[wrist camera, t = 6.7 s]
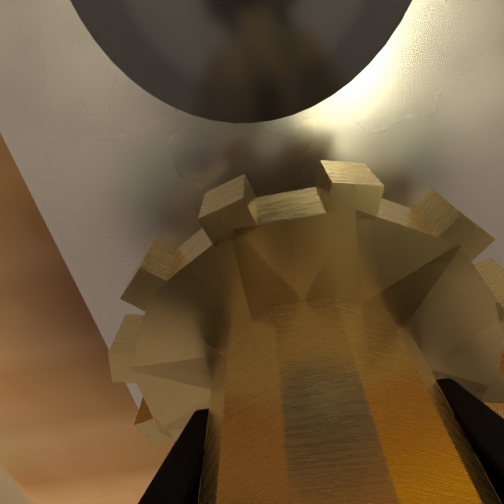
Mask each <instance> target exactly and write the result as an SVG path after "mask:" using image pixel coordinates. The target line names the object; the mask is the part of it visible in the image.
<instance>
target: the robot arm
mask: <svg viewBox="0 0 504 504" xmlns="http://www.w3.org/2000/svg"><path fill="white" fill-rule="evenodd" d="M436 381H437V383H438V385H439V387H440V388H441V390H442V392H443V394H444V396H445V398H446V400H447V402H448V404H449V405H450V407H451V409H452V411H453V413H454V415H455V417H456V419H457V421H458V423H459V425H460V426H461V428H462V430H463V432H464V434H465V436H466V437H467V439H468V441H469V443H470V445H471V447H472V449H473V451H474V452H475V454H476V456H477V458H478V460H479V462H480V464H481V466H482V468H483V469H484V471H485V473H486V475H487V477H488V479H489V481H490V483H491V484H492V486H493V488H494V490H495V492H496V494H497V496H498V498H499V500H500V501H501V503H502V504H504V419H503V418H502V417H501V416H499V415H498V414H497V413H495V412H494V411H493V410H492V409H490V408H489V407H488V406H487V405H485V404H484V403H483V402H482V401H480V400H479V399H478V398H476V397H475V396H474V395H473V394H471V393H470V392H469V391H468V390H466V389H465V388H464V387H463V386H461V385H460V384H459V383H457V382H456V381H455V380H454V379H451V378H442V379H436ZM208 414H209V408H207V409H199V410H196V411H195V412H194V413H193V415H192V416H191V418H190V419H189V421H188V423H187V424H186V426H185V428H184V429H183V431H182V433H181V434H180V436H179V437H178V439H177V441H176V442H175V444H174V446H173V447H172V449H171V450H170V452H169V454H168V455H167V457H166V459H165V460H164V462H163V464H162V465H161V467H160V468H159V470H158V472H157V473H156V475H155V477H154V478H153V480H152V481H151V483H150V485H149V486H148V488H147V490H146V491H145V493H144V495H143V496H142V498H141V499H140V501H139V503H138V504H198V498H199V490H200V481H201V473H202V464H203V456H204V448H205V439H206V431H207V422H208Z"/></svg>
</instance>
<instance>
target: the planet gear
mask: <svg viewBox="0 0 504 504" xmlns="http://www.w3.org/2000/svg"><path fill="white" fill-rule="evenodd" d="M384 187H385V186H384V185H383V184H382V183H381V181H380V180H379V179H378V178H377V177H376V176H375V175H374V173H373V172H372V171H371V170H370V169H369V168H368V167H367V165H366V164H365V163H354V162H341V161H327V160H320V163H319V169H318V175H317V181H316V187H312V188H306V189H301V190H295V191H289V192H284V193H278V194H273V195H267V196H261V197H256V196H255V194H254V192H253V190H252V188H251V186H250V184H249V182H248V180H247V178H246V176H245V174H243V175H241V176H239V177H237V178H235V179H232V180H230V181H228V182H226V183H224V184H222V185H220V186H218V187H215V188H213V189H211V190H209V191H207V192H206V193H205V196H204V199H203V202H202V206H201V209H200V212H199V216H198V221H199V222H200V224H201V226H202V227H203V228H201V229H200V230H199V231H198V232H197V233H195V234H194V235H193V236H192V237H190V238H189V239H188V240H187V241H186V242H184V243H183V244H182V245H181V246H180V247H176V246H174V245H172V244H171V243H169V242H167V241H165V240H164V239H162V238H160V237H158V236H157V235H155V237H154V238H153V240H152V242H151V243H150V245H149V246H148V248H147V250H146V251H145V253H144V254H143V256H142V258H141V259H140V261H139V262H138V264H137V266H136V268H135V270H134V272H133V274H132V276H131V278H130V280H129V282H128V284H127V286H126V288H125V290H124V292H123V294H122V296H121V298H120V299H121V300H123V301H125V302H127V303H129V304H131V305H133V306H135V307H137V308H139V309H141V310H143V311H145V315H136V314H125V316H124V319H123V321H122V323H121V325H120V327H119V330H118V332H117V334H116V336H115V338H114V340H113V343H112V345H111V347H110V349H109V351H108V358H109V365H110V371H111V378H112V382H120V383H137V385H138V387H139V389H140V391H141V393H142V395H143V398H142V401H141V405H140V408H139V411H138V414H137V418H136V421H135V424H134V425H135V426H136V427H137V428H138V429H139V430H140V431H141V433H142V434H143V435H144V436H145V437H146V438H147V439H148V440H149V441H150V442H151V443H152V444H153V445H158V444H161V443H164V442H167V441H170V440H174V441H177V439H178V437H179V436H180V434H181V433H182V431H183V429H184V428H185V426H186V424H187V423H188V421H189V419H190V418H191V416H192V415H193V413H194V412H195V411H196V410H199V409H207V408H209V414H208V422H207V431H206V439H205V448H204V456H203V464H202V473H201V481H200V490H199V498H198V504H502V503H501V501H500V500H499V498H498V496H497V494H496V492H495V490H494V488H493V486H492V484H491V483H490V481H489V479H488V477H487V475H486V473H485V471H484V469H483V468H482V466H481V464H480V462H479V460H478V458H477V456H476V454H475V452H474V451H473V449H472V447H471V445H470V443H469V441H468V439H467V437H466V436H465V434H464V432H463V430H462V428H461V426H460V425H459V423H458V421H457V419H456V417H455V415H454V413H453V411H452V409H451V407H450V405H449V404H448V402H447V400H446V398H445V396H444V394H443V392H442V390H441V388H440V387H439V385H438V383H437V381H436V379H442V378H451V379H454V380H455V381H456V382H457V383H459V384H460V385H461V386H463V387H464V388H465V389H466V390H468V391H469V392H470V393H471V394H473V395H474V396H475V397H476V398H478V399H479V400H480V401H482V402H491V403H504V352H503V345H504V269H503V268H502V267H501V266H500V265H499V264H498V263H497V262H496V261H495V260H494V259H493V258H489V259H486V260H483V261H481V262H478V263H475V264H473V263H472V262H471V261H472V260H474V259H475V258H476V257H477V256H478V255H479V254H480V253H481V252H482V251H484V250H485V249H486V248H487V247H488V246H489V245H490V244H491V243H493V242H494V241H495V240H496V239H495V238H493V237H492V236H491V235H490V234H489V233H487V232H486V231H485V230H484V229H483V228H482V227H480V226H479V225H478V224H477V223H476V222H474V221H473V220H472V219H471V218H470V217H468V216H467V215H466V214H465V213H464V212H462V211H461V210H460V209H459V208H457V207H456V206H455V205H454V204H452V203H451V202H450V201H448V200H447V199H446V198H444V197H443V196H442V195H441V194H439V193H438V192H437V191H435V190H434V189H433V188H430V189H429V190H428V191H427V192H426V194H425V195H424V196H423V197H422V198H421V199H420V200H419V201H418V202H417V203H416V204H415V205H414V206H413V207H412V208H409V207H406V206H403V205H400V204H397V203H395V202H392V201H389V200H386V199H383V198H382V195H383V191H384Z"/></svg>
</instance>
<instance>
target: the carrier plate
mask: <svg viewBox="0 0 504 504" xmlns="http://www.w3.org/2000/svg"><path fill="white" fill-rule="evenodd" d="M0 133H1V135H2V137H3V139H4V141H5V143H6V145H7V147H8V149H9V151H10V153H11V155H12V157H13V159H14V161H15V163H16V165H17V167H18V169H19V171H20V173H21V175H22V177H23V179H24V181H25V183H26V185H27V187H28V189H29V191H30V193H31V195H32V197H33V199H34V201H35V203H36V205H37V207H38V209H39V211H40V213H41V215H42V217H43V219H44V221H45V223H46V225H47V227H48V229H49V231H50V233H51V235H52V237H53V239H54V241H55V243H56V245H57V247H58V249H59V251H60V253H61V255H62V257H63V259H64V261H65V263H66V265H67V267H68V269H69V271H70V273H71V275H72V277H73V279H74V281H75V283H76V285H77V287H78V289H79V291H80V293H81V295H82V297H83V299H84V301H85V303H86V305H87V307H88V309H89V311H90V313H91V315H92V317H93V319H94V321H95V323H96V325H97V327H98V329H99V331H100V333H101V335H102V337H103V339H104V341H105V343H106V345H107V347H108V349H110V347H111V345H112V343H113V340H114V338H115V336H116V334H117V332H118V330H119V327H120V325H121V323H122V321H123V319H124V316H125V314H136V315H145V311H143V310H141V309H139V308H137V307H135V306H133V305H131V304H129V303H127V302H125V301H123V300H121V299H120V298H121V296H122V294H123V292H124V290H125V288H126V286H127V284H128V282H129V280H130V278H131V276H132V274H133V272H134V270H135V268H136V266H137V264H138V262H139V261H140V259H141V258H142V256H143V254H144V253H145V251H146V250H147V248H148V246H149V245H150V243H151V242H152V240H153V238H154V237H155V235H157V236H158V237H160V238H162V239H164V240H165V241H167V242H169V243H171V244H172V245H174V246H176V247H180V246H181V245H182V244H183V243H184V242H186V241H187V240H188V239H189V238H190V237H192V236H193V235H194V234H195V233H197V232H198V231H199V230H200V229H201V228H203V227H202V226H201V224H200V222H199V221H198V216H199V212H200V209H201V206H202V202H203V199H204V196H205V193H206V192H207V191H209V190H211V189H213V188H215V187H218V186H220V185H222V184H224V183H226V182H228V181H230V180H232V179H235V178H237V177H239V176H241V175H243V174H245V176H246V178H247V180H248V182H249V184H250V186H251V188H252V190H253V192H254V194H255V196H256V197H261V196H267V195H273V194H278V193H284V192H289V191H295V190H301V189H306V188H312V187H316V181H317V175H318V169H319V163H320V160H327V161H341V162H354V163H365V164H366V165H367V167H368V168H369V169H370V170H371V171H372V172H373V173H374V175H375V176H376V177H377V178H378V179H379V180H380V181H381V183H382V184H383V185H384V186H385V187H384V191H383V195H382V198H383V199H386V200H389V201H392V202H395V203H397V204H400V205H403V206H406V207H409V208H412V207H413V206H414V205H415V204H416V203H417V202H418V201H419V200H420V199H421V198H422V197H423V196H424V195H425V194H426V192H427V191H428V190H429V189H430V188H433V189H434V190H435V191H437V192H438V193H439V194H441V195H442V196H443V197H444V198H446V199H447V200H448V201H450V202H451V203H452V204H454V205H455V206H456V207H457V208H459V209H460V210H461V211H462V212H464V213H465V214H466V215H467V216H468V217H470V218H471V219H472V220H473V221H474V222H476V223H477V224H478V225H479V226H480V227H482V228H483V229H484V230H485V231H486V232H487V233H489V234H490V235H491V236H492V237H493V238H495V239H496V240H495V241H494V242H493V243H491V244H490V245H489V246H488V247H487V248H486V249H485V250H484V251H482V252H481V253H480V254H479V255H478V256H477V257H476V258H475V259H474V260H472V261H471V262H472V263H473V264H475V263H478V262H481V261H483V260H486V259H489V258H493V259H494V260H495V261H496V262H497V263H498V264H499V265H500V266H501V267H502V268H503V269H504V0H0ZM503 352H504V345H503ZM126 385H127V387H128V389H129V391H130V393H131V395H132V397H133V399H134V401H135V403H136V405H137V407H138V409H139V408H140V405H141V401H142V398H143V395H142V393H141V391H140V389H139V387H138V385H137V383H126Z"/></svg>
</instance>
